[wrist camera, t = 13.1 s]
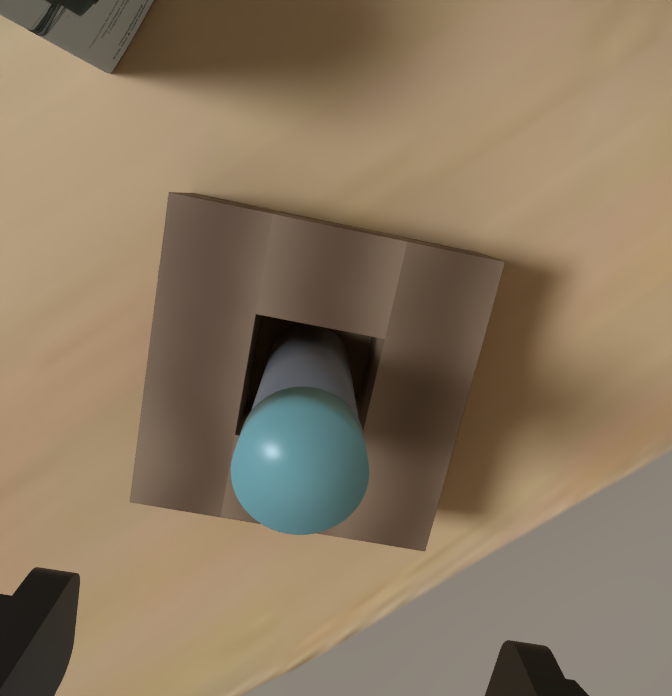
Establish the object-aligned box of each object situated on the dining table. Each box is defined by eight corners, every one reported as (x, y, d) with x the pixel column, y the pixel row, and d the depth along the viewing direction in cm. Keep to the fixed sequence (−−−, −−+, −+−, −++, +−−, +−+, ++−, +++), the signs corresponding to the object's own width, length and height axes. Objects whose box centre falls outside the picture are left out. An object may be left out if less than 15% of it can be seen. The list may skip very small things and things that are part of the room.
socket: (154, 462, 30) (129, 502, 26) (191, 192, 27) (168, 192, 23) (412, 507, 31) (425, 551, 27) (479, 253, 28) (505, 262, 24)
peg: (261, 393, 29) (220, 522, 18) (275, 314, 28) (242, 396, 17) (341, 408, 30) (353, 544, 18) (358, 330, 29) (383, 422, 17)
